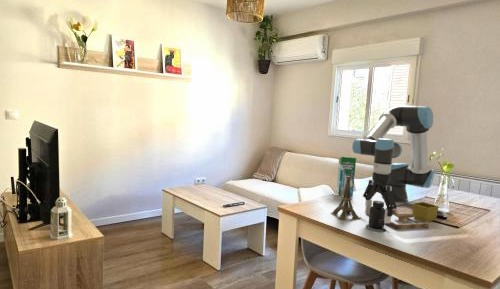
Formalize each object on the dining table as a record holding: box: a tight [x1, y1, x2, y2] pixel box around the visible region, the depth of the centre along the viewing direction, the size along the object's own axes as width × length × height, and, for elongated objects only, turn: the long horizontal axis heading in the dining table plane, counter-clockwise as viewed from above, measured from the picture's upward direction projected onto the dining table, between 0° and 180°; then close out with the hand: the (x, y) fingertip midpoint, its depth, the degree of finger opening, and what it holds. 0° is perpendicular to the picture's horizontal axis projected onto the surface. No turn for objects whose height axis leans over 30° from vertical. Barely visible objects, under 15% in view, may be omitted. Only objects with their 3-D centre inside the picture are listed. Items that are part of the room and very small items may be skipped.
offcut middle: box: [397, 218, 408, 224], centre depth 161 cm, size 4×7×2 cm, turn 154°
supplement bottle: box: [367, 200, 386, 229], centre depth 150 cm, size 7×7×12 cm
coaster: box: [365, 223, 388, 233], centre depth 150 cm, size 9×9×1 cm
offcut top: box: [393, 210, 414, 219], centre depth 161 cm, size 4×8×2 cm, turn 96°
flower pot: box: [411, 201, 439, 223], centre depth 164 cm, size 9×9×9 cm
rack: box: [366, 209, 430, 231], centre depth 159 cm, size 18×22×4 cm
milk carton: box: [335, 155, 357, 197], centre depth 214 cm, size 9×9×25 cm
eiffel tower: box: [330, 174, 361, 221], centre depth 165 cm, size 11×11×25 cm
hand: (377, 218), depth 150 cm, fingers open, 13 cm apart
